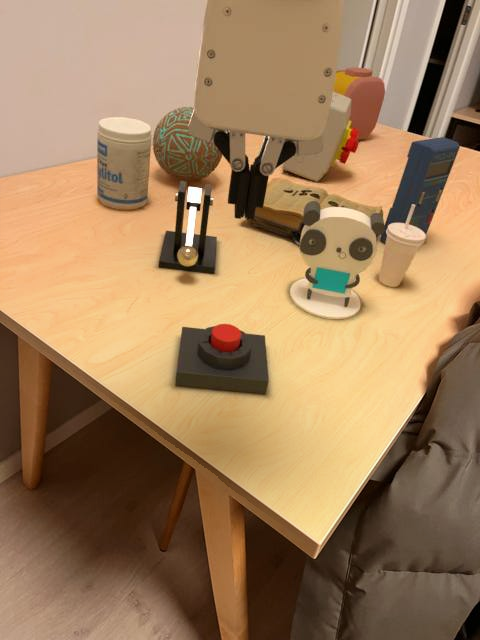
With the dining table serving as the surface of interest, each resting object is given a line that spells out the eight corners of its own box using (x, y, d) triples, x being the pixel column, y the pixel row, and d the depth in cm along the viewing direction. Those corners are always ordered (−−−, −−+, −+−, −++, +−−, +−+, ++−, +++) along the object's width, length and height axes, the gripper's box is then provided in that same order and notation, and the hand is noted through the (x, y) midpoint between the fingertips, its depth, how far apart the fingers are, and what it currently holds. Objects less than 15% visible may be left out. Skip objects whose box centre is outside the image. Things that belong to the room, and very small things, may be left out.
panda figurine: (282, 309, 80) (303, 218, 71) (288, 273, 89) (307, 188, 80) (361, 325, 79) (391, 236, 71) (358, 287, 89) (385, 204, 80)
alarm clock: (348, 129, 172) (364, 64, 161) (374, 140, 166) (393, 73, 154) (309, 133, 161) (324, 64, 150) (336, 145, 155) (354, 74, 144)
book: (378, 232, 108) (387, 205, 105) (362, 265, 95) (371, 236, 92) (265, 198, 114) (270, 172, 111) (236, 225, 101) (240, 196, 98)
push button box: (175, 385, 63) (177, 360, 61) (181, 339, 70) (183, 315, 68) (265, 394, 64) (271, 369, 62) (262, 348, 71) (267, 324, 69)
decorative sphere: (137, 171, 116) (140, 100, 108) (191, 162, 125) (198, 96, 117) (177, 197, 108) (184, 122, 100) (232, 186, 117) (242, 117, 109)
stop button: (209, 351, 64) (211, 339, 63) (210, 333, 66) (212, 322, 65) (239, 354, 64) (241, 343, 63) (239, 336, 67) (241, 325, 66)
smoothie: (393, 270, 95) (419, 197, 87) (414, 289, 91) (444, 214, 83) (363, 272, 93) (388, 198, 85) (384, 292, 88) (411, 215, 80)
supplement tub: (87, 203, 100) (86, 124, 91) (112, 187, 107) (113, 112, 99) (134, 216, 98) (136, 136, 90) (156, 199, 106) (160, 124, 97)
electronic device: (398, 251, 102) (435, 149, 91) (377, 240, 105) (410, 139, 94) (425, 242, 108) (463, 144, 96) (405, 231, 111) (439, 135, 99)
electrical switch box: (337, 196, 127) (373, 114, 116) (279, 173, 128) (309, 90, 116) (343, 177, 139) (376, 101, 127) (290, 156, 140) (318, 79, 128)
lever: (196, 270, 82) (197, 262, 79) (175, 268, 81) (176, 259, 78) (204, 198, 86) (205, 187, 83) (184, 195, 86) (185, 184, 82)
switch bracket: (214, 274, 85) (223, 206, 79) (158, 267, 85) (162, 198, 78) (215, 242, 94) (224, 179, 88) (165, 236, 94) (169, 171, 87)
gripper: (380, -26, 39) (321, 206, 49) (176, -63, 37) (161, 185, 48) (408, -20, 33) (334, 243, 43) (165, -63, 31) (151, 220, 42)
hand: (243, 212), depth 45 cm, fingers closed
